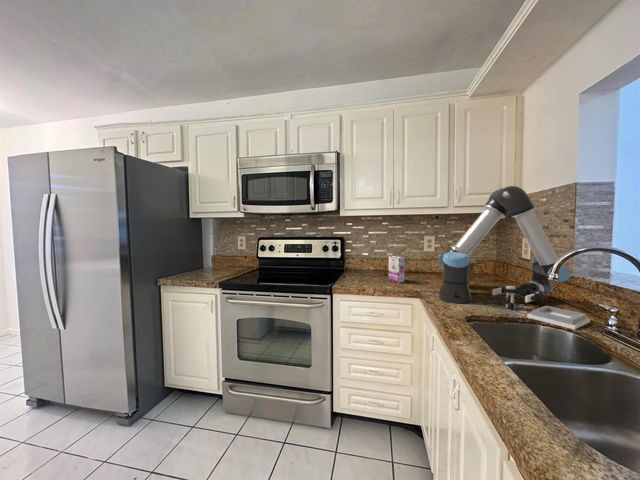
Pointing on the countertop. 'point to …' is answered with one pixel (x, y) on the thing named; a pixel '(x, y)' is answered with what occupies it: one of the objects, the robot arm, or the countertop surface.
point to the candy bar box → (396, 269)
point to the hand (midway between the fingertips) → (509, 295)
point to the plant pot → (470, 269)
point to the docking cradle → (559, 317)
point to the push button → (510, 297)
